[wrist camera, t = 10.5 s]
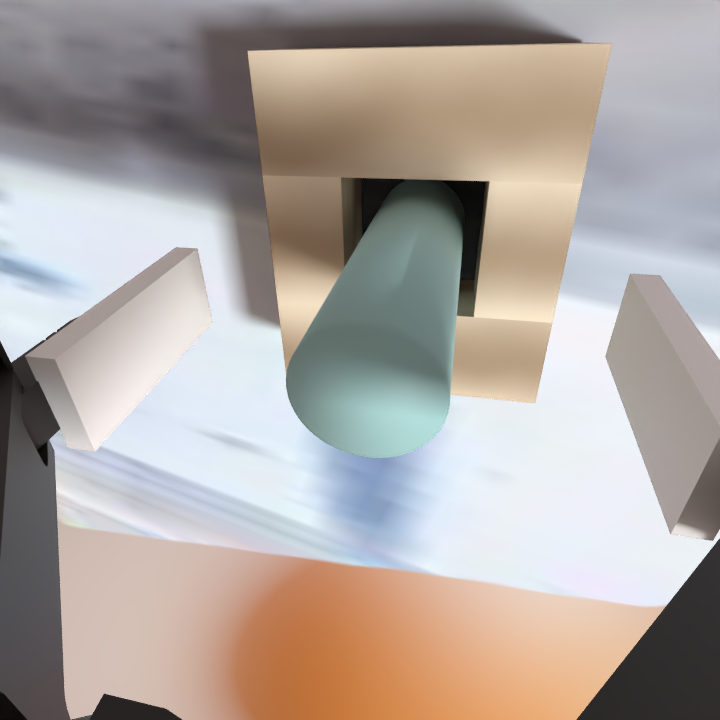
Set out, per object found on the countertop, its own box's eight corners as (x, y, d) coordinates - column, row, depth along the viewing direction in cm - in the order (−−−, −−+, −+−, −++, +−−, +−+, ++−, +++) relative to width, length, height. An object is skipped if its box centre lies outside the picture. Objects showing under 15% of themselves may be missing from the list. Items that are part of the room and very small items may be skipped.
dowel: (379, 176, 23) (277, 315, 11) (468, 177, 22) (456, 329, 11) (379, 259, 25) (294, 447, 13) (460, 263, 24) (443, 466, 13)
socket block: (284, 49, 21) (247, 51, 18) (588, 42, 19) (612, 43, 15) (309, 338, 28) (286, 378, 25) (528, 357, 26) (535, 403, 23)
